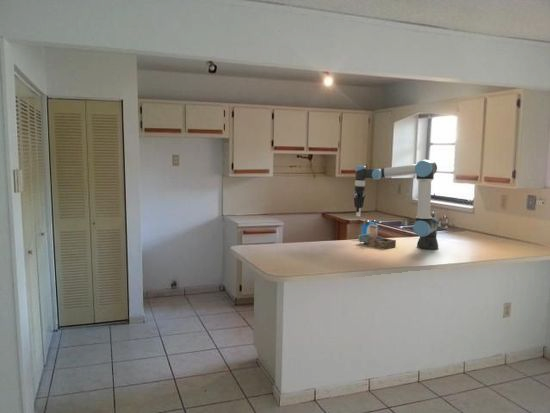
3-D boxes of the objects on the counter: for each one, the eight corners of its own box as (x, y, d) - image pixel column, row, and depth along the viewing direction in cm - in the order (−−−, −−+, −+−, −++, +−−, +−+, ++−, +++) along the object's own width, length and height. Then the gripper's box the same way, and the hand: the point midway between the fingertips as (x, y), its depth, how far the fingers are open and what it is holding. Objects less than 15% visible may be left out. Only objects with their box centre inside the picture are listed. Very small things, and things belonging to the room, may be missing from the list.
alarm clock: (364, 239, 370) (365, 220, 369) (360, 237, 376) (361, 219, 374) (378, 238, 375) (379, 220, 374) (374, 237, 381) (374, 219, 379)
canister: (377, 241, 347) (378, 225, 346) (373, 242, 343) (374, 226, 342) (371, 240, 351) (372, 224, 350) (367, 241, 347) (368, 225, 346)
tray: (385, 242, 347) (386, 236, 346) (375, 244, 338) (376, 238, 337) (368, 239, 358) (368, 233, 357) (358, 241, 349) (358, 235, 348)
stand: (395, 246, 341) (395, 240, 341) (385, 249, 332) (385, 242, 331) (377, 243, 352) (378, 237, 352) (367, 245, 343) (367, 239, 342)
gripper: (360, 185, 360) (359, 215, 363) (350, 185, 351) (349, 216, 354) (368, 186, 354) (367, 216, 357) (358, 186, 346) (357, 217, 348)
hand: (358, 216), depth 355 cm, fingers closed
